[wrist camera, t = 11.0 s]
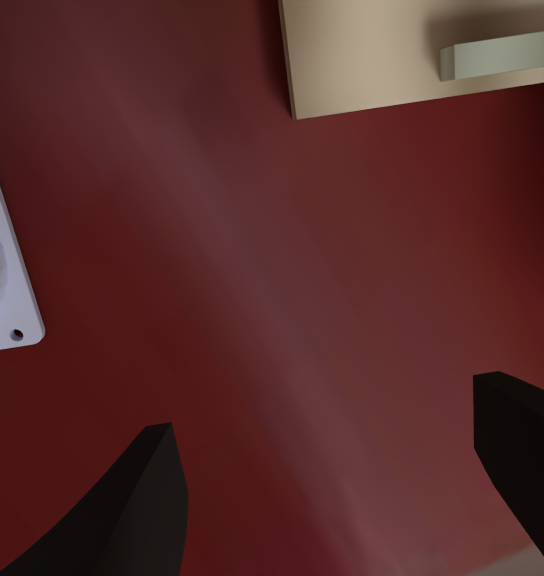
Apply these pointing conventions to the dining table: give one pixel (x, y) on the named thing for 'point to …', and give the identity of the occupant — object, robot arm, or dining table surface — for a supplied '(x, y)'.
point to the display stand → (406, 50)
